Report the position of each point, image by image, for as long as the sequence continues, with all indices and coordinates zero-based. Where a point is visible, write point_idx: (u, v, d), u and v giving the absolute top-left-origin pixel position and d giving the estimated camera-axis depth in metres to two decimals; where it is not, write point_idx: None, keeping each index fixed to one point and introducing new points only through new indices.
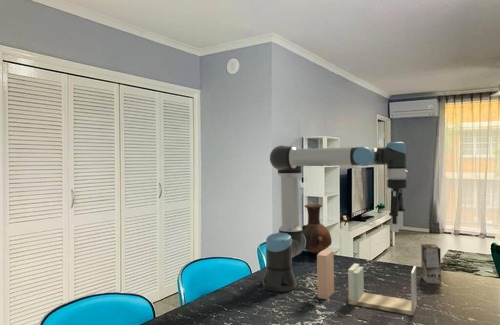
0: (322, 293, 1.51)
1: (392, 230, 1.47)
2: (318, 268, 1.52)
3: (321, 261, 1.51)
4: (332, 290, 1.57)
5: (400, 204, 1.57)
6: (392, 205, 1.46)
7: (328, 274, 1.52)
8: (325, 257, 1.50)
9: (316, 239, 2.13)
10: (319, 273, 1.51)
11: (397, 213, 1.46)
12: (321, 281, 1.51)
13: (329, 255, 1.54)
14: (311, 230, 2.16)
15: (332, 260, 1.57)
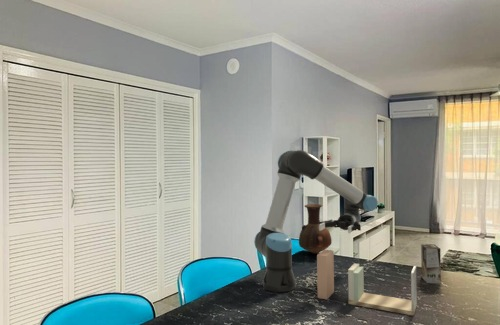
0: (322, 293, 1.51)
1: (349, 227, 1.63)
2: (318, 268, 1.52)
3: (321, 261, 1.51)
4: (332, 290, 1.57)
5: (330, 226, 1.77)
6: None
7: (328, 274, 1.52)
8: (325, 257, 1.50)
9: (316, 239, 2.13)
10: (319, 273, 1.51)
11: (355, 229, 1.69)
12: (321, 281, 1.51)
13: (329, 255, 1.54)
14: (311, 230, 2.16)
15: (332, 260, 1.57)
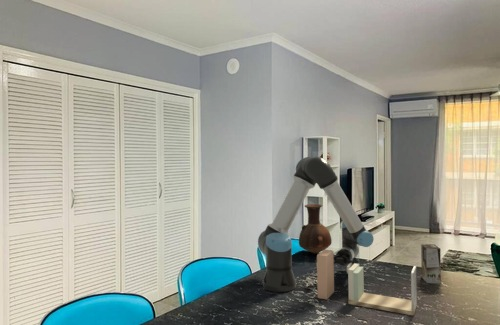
0: (322, 293, 1.51)
1: (348, 267, 1.57)
2: (318, 268, 1.52)
3: (321, 261, 1.51)
4: (332, 290, 1.57)
5: None
6: None
7: (328, 274, 1.52)
8: (325, 257, 1.50)
9: (316, 239, 2.13)
10: (319, 273, 1.51)
11: None
12: (321, 281, 1.51)
13: (329, 255, 1.54)
14: (311, 230, 2.16)
15: (332, 260, 1.57)
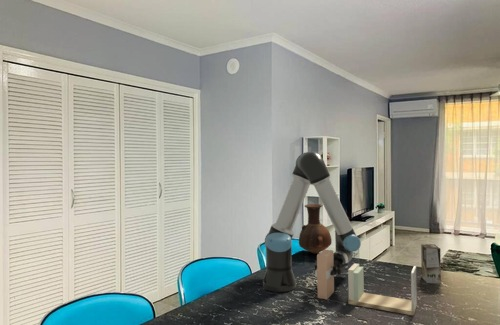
0: (322, 293, 1.51)
1: (328, 273, 1.50)
2: (318, 268, 1.52)
3: (321, 261, 1.51)
4: (332, 290, 1.57)
5: None
6: (342, 268, 1.57)
7: None
8: (325, 257, 1.50)
9: (316, 239, 2.13)
10: (319, 273, 1.51)
11: (335, 273, 1.55)
12: (321, 281, 1.51)
13: (329, 255, 1.54)
14: (311, 230, 2.16)
15: (332, 260, 1.57)
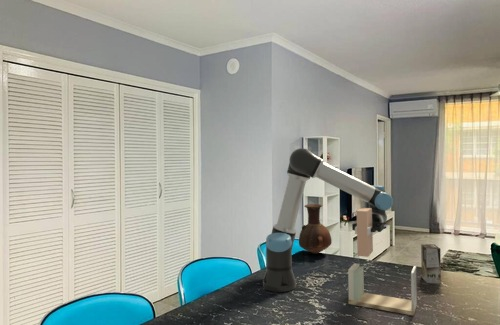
0: (363, 250, 1.44)
1: (369, 229, 1.43)
2: (358, 225, 1.45)
3: (361, 217, 1.44)
4: (371, 249, 1.50)
5: None
6: (382, 226, 1.50)
7: None
8: (365, 212, 1.43)
9: (316, 239, 2.13)
10: (359, 230, 1.44)
11: (375, 231, 1.48)
12: (361, 238, 1.44)
13: (369, 211, 1.47)
14: (311, 230, 2.16)
15: (371, 218, 1.50)
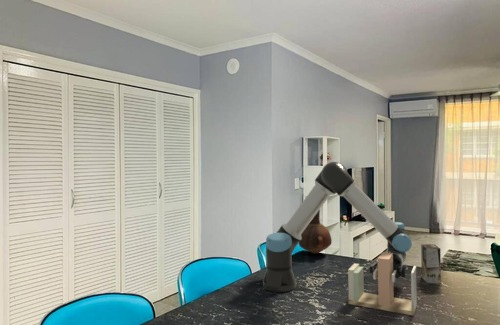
0: (384, 300, 1.39)
1: (394, 275, 1.37)
2: (379, 273, 1.39)
3: (383, 265, 1.39)
4: (392, 296, 1.45)
5: None
6: (405, 270, 1.45)
7: (390, 279, 1.40)
8: (387, 261, 1.38)
9: (316, 239, 2.13)
10: (380, 278, 1.39)
11: (399, 276, 1.43)
12: (383, 287, 1.39)
13: (390, 258, 1.41)
14: (311, 230, 2.16)
15: (392, 264, 1.45)
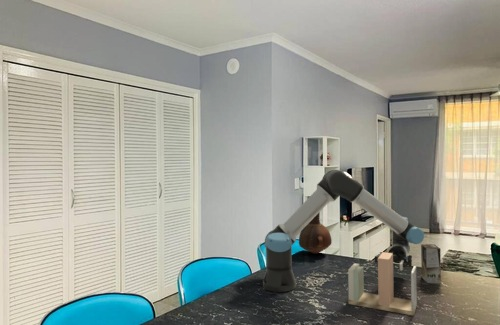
0: (384, 300, 1.39)
1: (401, 265, 1.49)
2: (379, 273, 1.39)
3: (383, 265, 1.39)
4: (392, 296, 1.45)
5: None
6: (411, 260, 1.57)
7: (390, 279, 1.40)
8: (387, 261, 1.38)
9: (316, 239, 2.13)
10: (380, 278, 1.39)
11: (406, 265, 1.55)
12: (383, 287, 1.39)
13: (390, 258, 1.41)
14: (311, 230, 2.16)
15: (392, 264, 1.45)
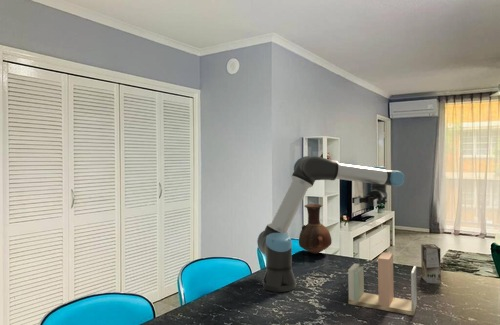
0: (384, 300, 1.39)
1: (375, 201, 1.62)
2: (379, 273, 1.39)
3: (383, 265, 1.39)
4: (392, 296, 1.45)
5: (363, 201, 1.74)
6: (385, 199, 1.70)
7: (390, 279, 1.40)
8: (387, 261, 1.38)
9: (316, 239, 2.13)
10: (380, 278, 1.39)
11: None
12: (383, 287, 1.39)
13: (390, 258, 1.41)
14: (311, 230, 2.16)
15: (392, 264, 1.45)
